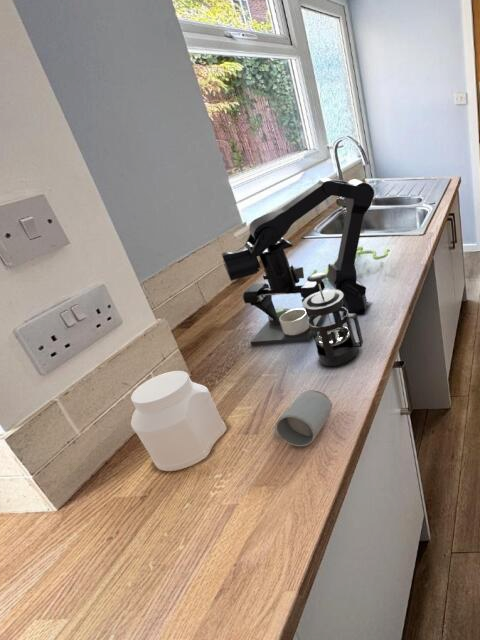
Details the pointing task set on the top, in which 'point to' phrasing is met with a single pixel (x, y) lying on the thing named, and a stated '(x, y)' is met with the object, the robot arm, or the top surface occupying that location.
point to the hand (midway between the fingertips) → (293, 318)
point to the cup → (294, 321)
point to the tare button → (280, 311)
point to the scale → (281, 333)
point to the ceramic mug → (304, 418)
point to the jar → (175, 420)
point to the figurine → (360, 254)
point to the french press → (332, 326)
